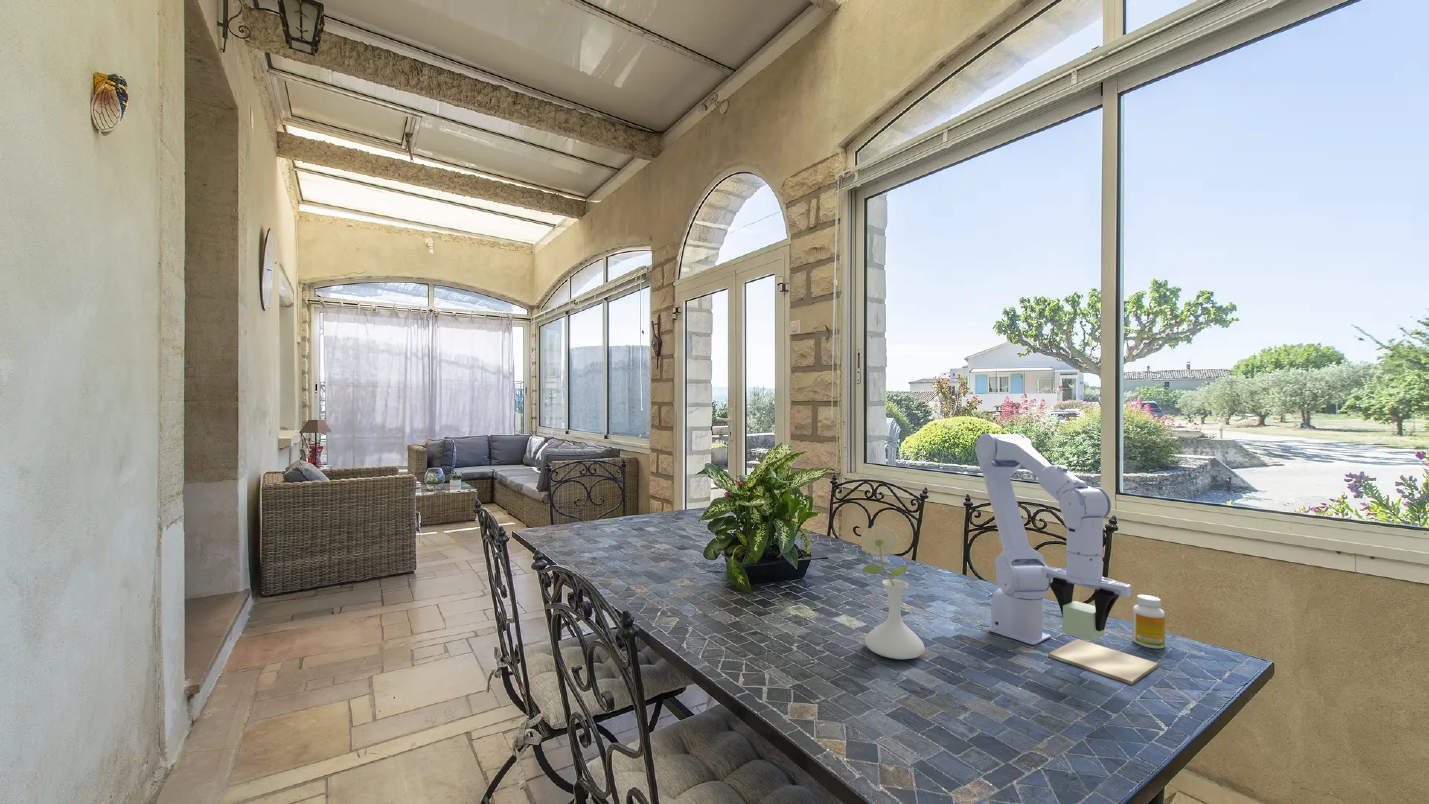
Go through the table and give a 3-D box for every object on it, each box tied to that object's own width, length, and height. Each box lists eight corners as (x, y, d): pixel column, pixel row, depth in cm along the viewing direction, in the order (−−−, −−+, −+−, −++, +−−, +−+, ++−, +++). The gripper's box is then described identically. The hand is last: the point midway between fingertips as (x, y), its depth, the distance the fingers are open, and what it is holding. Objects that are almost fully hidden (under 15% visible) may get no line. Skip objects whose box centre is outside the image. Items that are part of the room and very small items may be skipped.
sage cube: (1062, 632, 108) (1063, 605, 108) (1074, 626, 111) (1074, 600, 111) (1092, 641, 104) (1092, 613, 104) (1103, 635, 107) (1104, 608, 107)
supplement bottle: (1170, 650, 117) (1171, 602, 117) (1140, 647, 118) (1141, 600, 118) (1155, 640, 122) (1156, 594, 123) (1127, 637, 123) (1128, 592, 124)
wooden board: (1048, 656, 113) (1048, 653, 113) (1077, 641, 121) (1077, 638, 121) (1131, 684, 102) (1131, 681, 102) (1157, 666, 110) (1157, 663, 110)
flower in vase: (927, 647, 117) (928, 524, 117) (921, 670, 106) (923, 535, 107) (861, 635, 122) (863, 518, 122) (850, 656, 112) (852, 527, 112)
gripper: (1033, 547, 111) (1032, 617, 111) (1120, 564, 100) (1119, 642, 99) (1051, 542, 115) (1050, 610, 115) (1135, 558, 104) (1135, 634, 104)
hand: (1083, 624), depth 108 cm, fingers closed on sage cube, 5 cm apart
